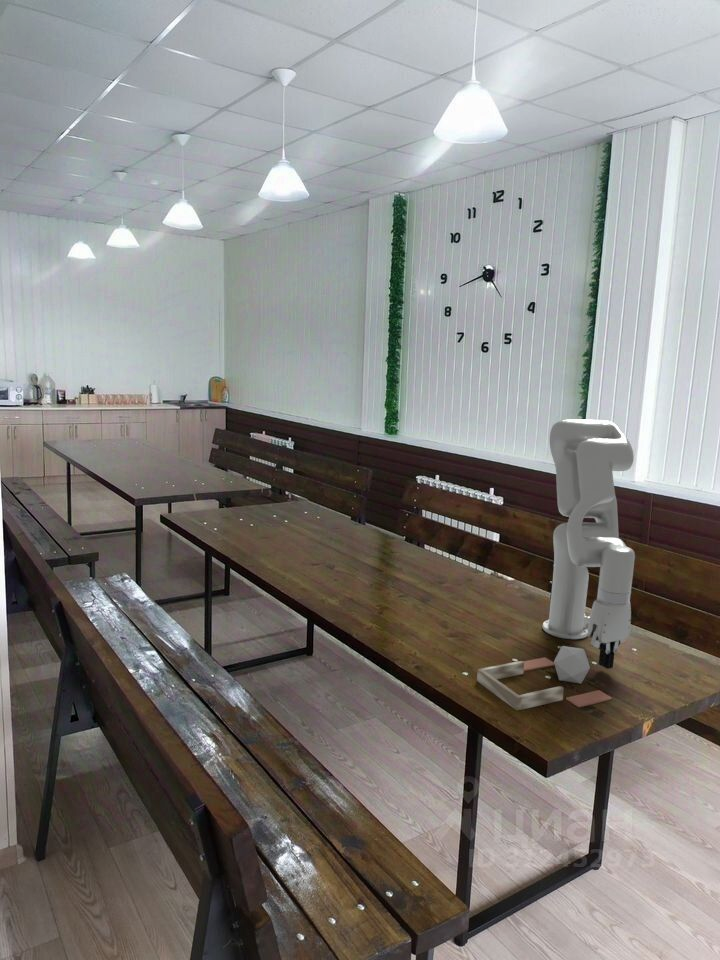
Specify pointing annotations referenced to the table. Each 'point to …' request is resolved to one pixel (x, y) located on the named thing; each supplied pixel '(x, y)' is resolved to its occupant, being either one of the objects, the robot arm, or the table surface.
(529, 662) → the mat
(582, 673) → the die
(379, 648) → the table surface
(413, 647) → the table surface
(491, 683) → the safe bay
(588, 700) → the mat
